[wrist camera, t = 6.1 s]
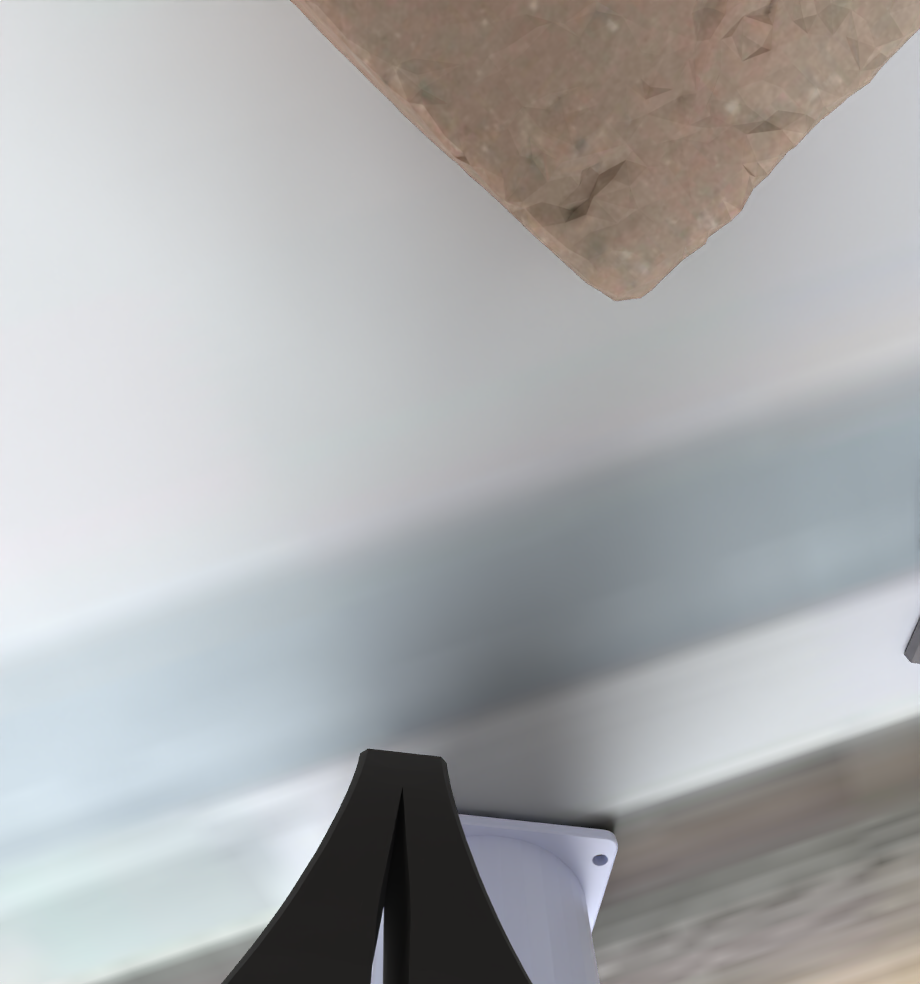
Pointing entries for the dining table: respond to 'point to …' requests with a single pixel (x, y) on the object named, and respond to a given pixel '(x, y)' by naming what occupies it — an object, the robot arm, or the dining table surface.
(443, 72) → the brick
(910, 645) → the mat
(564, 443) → the dining table surface
